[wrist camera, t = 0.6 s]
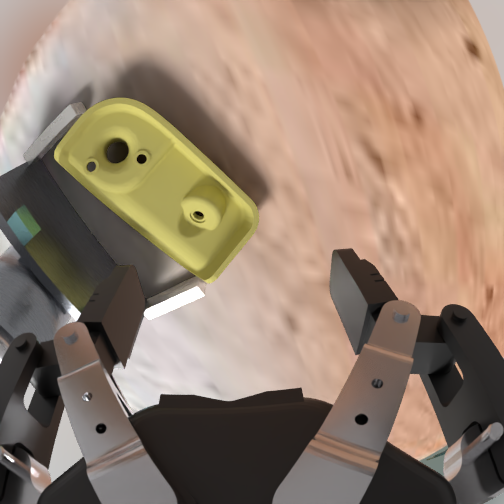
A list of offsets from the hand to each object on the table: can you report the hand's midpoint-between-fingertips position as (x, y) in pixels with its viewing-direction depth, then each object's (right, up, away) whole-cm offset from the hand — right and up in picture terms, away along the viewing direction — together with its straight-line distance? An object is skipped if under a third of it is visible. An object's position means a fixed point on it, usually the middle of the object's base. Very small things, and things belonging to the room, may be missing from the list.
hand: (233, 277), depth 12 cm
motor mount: (-21, +2, +21) cm, 30 cm away
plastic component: (-8, +9, +18) cm, 21 cm away
